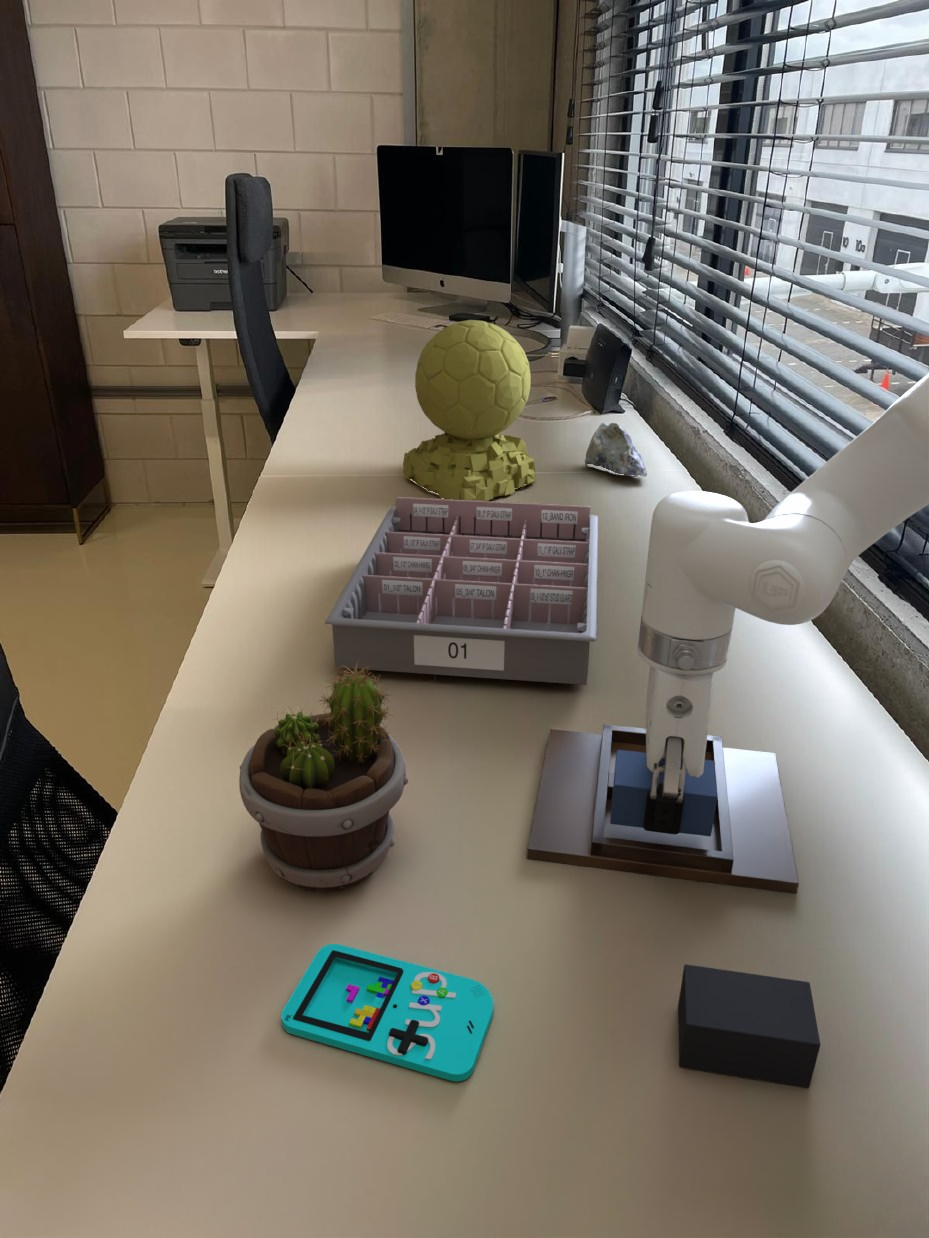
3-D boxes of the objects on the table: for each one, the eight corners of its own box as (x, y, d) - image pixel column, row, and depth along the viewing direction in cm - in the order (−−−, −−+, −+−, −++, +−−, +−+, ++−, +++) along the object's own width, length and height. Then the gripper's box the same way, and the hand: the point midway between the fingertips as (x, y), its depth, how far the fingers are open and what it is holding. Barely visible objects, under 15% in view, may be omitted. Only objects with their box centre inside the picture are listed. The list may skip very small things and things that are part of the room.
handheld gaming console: (468, 1075, 66) (275, 1019, 70) (468, 1085, 66) (276, 1029, 70) (501, 984, 73) (324, 938, 77) (501, 993, 73) (325, 947, 78)
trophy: (477, 457, 195) (479, 306, 181) (552, 484, 180) (560, 322, 166) (389, 479, 182) (383, 318, 169) (461, 511, 167) (461, 337, 154)
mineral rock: (648, 485, 180) (653, 433, 175) (592, 485, 180) (596, 434, 175) (635, 464, 192) (639, 415, 187) (582, 464, 191) (585, 415, 187)
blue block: (708, 799, 90) (714, 760, 88) (710, 836, 85) (717, 797, 83) (612, 787, 91) (616, 749, 89) (610, 824, 87) (614, 784, 85)
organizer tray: (328, 680, 116) (322, 607, 111) (392, 552, 151) (390, 493, 146) (592, 699, 112) (597, 624, 107) (594, 563, 147) (599, 502, 143)
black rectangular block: (799, 1024, 71) (809, 981, 69) (809, 1088, 66) (820, 1044, 64) (677, 1005, 73) (684, 963, 71) (678, 1067, 68) (685, 1024, 66)
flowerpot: (258, 931, 79) (232, 732, 70) (243, 817, 92) (220, 637, 83) (426, 896, 83) (423, 703, 74) (389, 792, 96) (382, 617, 87)
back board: (773, 762, 101) (777, 741, 100) (796, 893, 83) (802, 870, 82) (549, 737, 105) (550, 717, 104) (526, 858, 87) (527, 835, 86)
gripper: (736, 696, 72) (705, 877, 80) (723, 598, 87) (699, 760, 95) (636, 686, 73) (616, 865, 81) (641, 591, 88) (623, 751, 96)
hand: (661, 807), depth 88 cm, fingers closed on blue block, 5 cm apart
